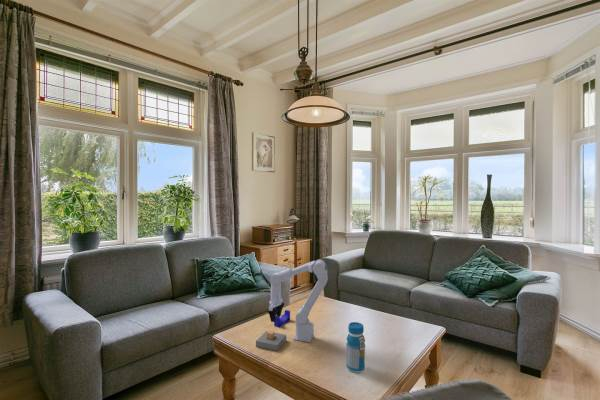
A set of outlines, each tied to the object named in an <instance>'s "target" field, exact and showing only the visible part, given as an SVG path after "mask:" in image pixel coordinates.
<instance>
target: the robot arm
mask: <svg viewBox="0 0 600 400" xmlns="http://www.w3.org/2000/svg"><path fill="white" fill-rule="evenodd" d="M304 272H309V273H314V275H315V276H316V278H317V281H316V283H315V285H314V287H313V288H312V289H311V292H310V293H309V295H308V297H307V298H306V300H305V302H304V303H303V305H302V306H301V307H299V308H298V309H297V313H296V315H295V335H294V337H293V338H292V339H293V340H295V341H301V342H307V343H310V342H311V341H312V339H314V337H315V333H314V332H315V331H314V330H315V329H314V328H315V327H314V323H313V322H311V321H310V319H309V318H308V317H309V315H310V312H311V310H312V308H313V306H314V305H315V303H316V302H317V300H318V298H319V296H320V295H321V294H322V291H323V290H324V288H325V287H326V285H327V282H328V280H329V279H328V266H327V264H326V261H325V260H323V259H320V258H319V259H316V260H312V261H309V262H306V263H304V264H301V265H300V266H297V267H294V268H291V267H285V269H282V270H279V271H275V272H273V273H272V275H270V277H269V282H270V300H269V301H268V304H269V306H268V308H267V309H266V311H267V313H268V316H269V319H270V322H272V323H274V322H275V319H276V316H279V317H280V318H281V316H282V311H283V308H284V306H285V303H284V302H283V301H284V299H283V298H282V285H281V284H282V282H285V281H288V280H291V279H293V278H294V277H295V275H299V274H301V273H304Z"/></svg>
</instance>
